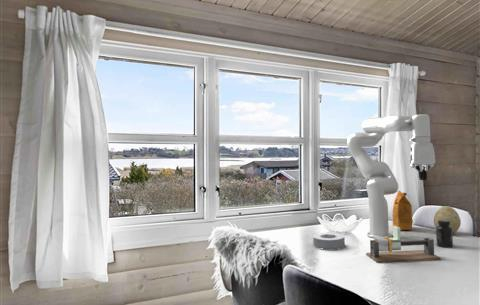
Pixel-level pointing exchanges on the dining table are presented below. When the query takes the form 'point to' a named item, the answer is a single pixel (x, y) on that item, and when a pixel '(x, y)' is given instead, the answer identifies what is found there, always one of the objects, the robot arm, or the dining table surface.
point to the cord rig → (401, 256)
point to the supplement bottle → (444, 234)
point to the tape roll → (329, 240)
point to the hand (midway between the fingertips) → (422, 179)
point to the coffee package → (402, 212)
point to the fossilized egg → (448, 217)
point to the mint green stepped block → (396, 238)
